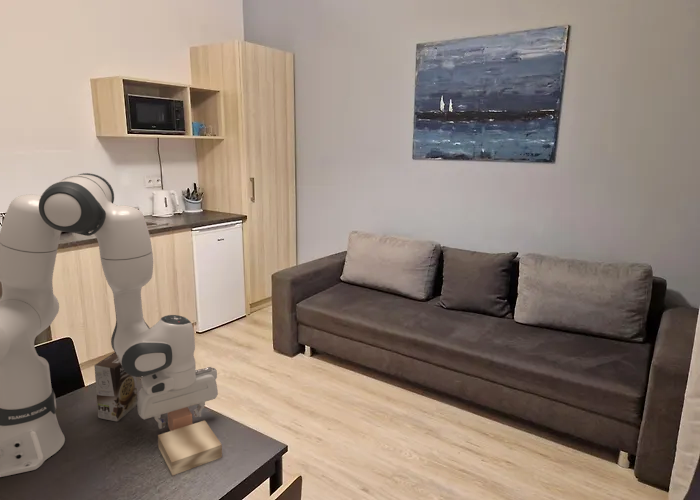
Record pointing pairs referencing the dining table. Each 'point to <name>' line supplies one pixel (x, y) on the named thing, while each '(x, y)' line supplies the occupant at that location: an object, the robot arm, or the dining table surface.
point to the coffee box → (114, 389)
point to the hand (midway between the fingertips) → (180, 421)
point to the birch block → (189, 447)
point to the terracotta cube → (179, 418)
